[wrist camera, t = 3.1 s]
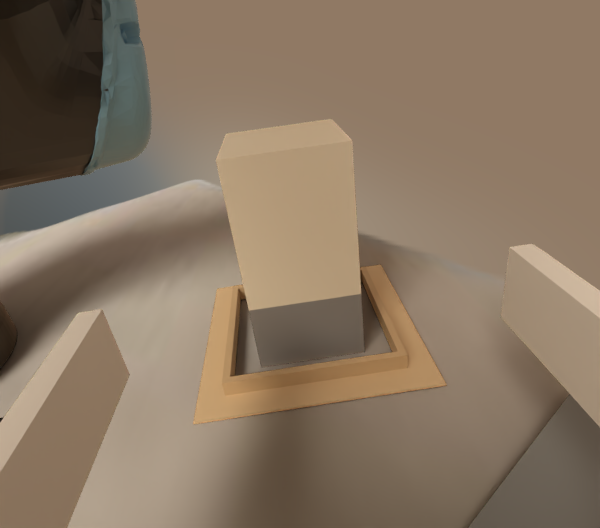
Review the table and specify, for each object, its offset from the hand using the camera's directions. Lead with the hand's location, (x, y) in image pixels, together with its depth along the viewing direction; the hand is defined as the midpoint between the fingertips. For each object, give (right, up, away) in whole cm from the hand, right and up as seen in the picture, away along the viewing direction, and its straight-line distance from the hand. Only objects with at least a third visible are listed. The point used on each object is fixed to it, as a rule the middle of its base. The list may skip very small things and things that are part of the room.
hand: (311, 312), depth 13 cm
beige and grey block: (0, -3, +13) cm, 13 cm away
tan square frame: (0, -3, +13) cm, 13 cm away
